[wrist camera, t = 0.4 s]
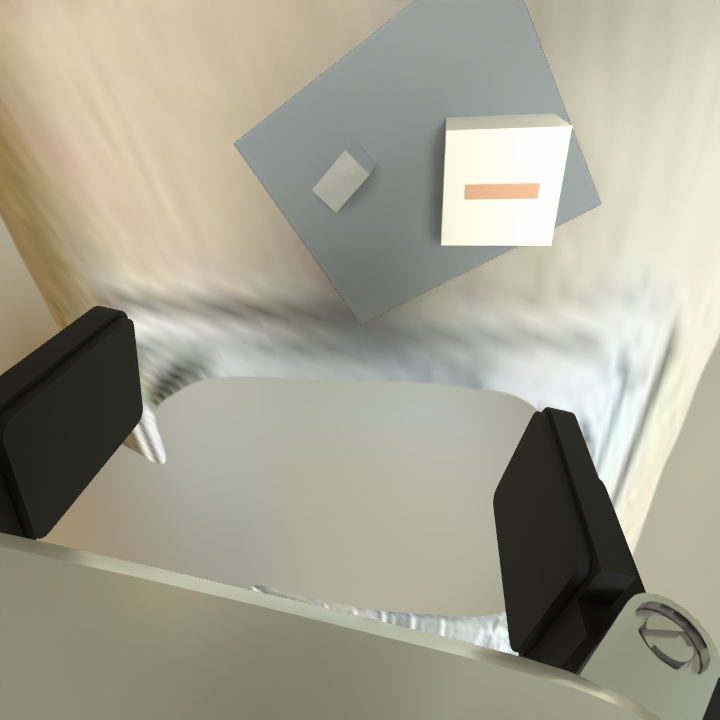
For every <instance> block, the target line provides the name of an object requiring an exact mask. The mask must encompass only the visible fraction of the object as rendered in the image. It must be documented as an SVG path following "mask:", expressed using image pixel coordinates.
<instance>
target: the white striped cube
mask: <svg viewBox="0 0 720 720" xmlns="http://www.w3.org/2000/svg"><path fill="white" fill-rule="evenodd" d="M571 130H572V126H571V125H570V124H568V123H567V122H566V121H564V120H563V119H561V118H560V117H559V116H557V115H556V114H554V113H546V114H520V115H495V116H469V117H446V129H445V153H444V176H443V200H442V230H441V246H551V243H552V237H553V232H554V226H555V220H556V215H557V209H558V203H559V198H560V192H561V187H562V181H563V175H564V170H565V164H566V158H567V153H568V147H569V141H570V136H571Z"/></svg>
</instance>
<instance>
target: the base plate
mask: <svg viewBox="0 0 720 720" xmlns="http://www.w3.org/2000/svg"><path fill="white" fill-rule="evenodd" d="M546 113H554V114H556V115H557V116H559V117H560V118H561V119H563V120H564V121H566V122H567V123H568V124H570V125H571V123H570V120H569V118H568V115H567V112H566V110H565V107H564V104H563V102H562V99H561V97H560V94H559V91H558V89H557V86H556V84H555V81H554V78H553V76H552V73H551V71H550V68H549V65H548V63H547V60H546V57H545V55H544V52H543V50H542V47H541V44H540V42H539V39H538V37H537V34H536V31H535V29H534V26H533V24H532V21H531V18H530V16H529V13H528V10H527V8H526V5H525V3H524V0H415V1H414V2H413V3H411V4H410V5H409V6H408V7H406V8H405V9H404V10H402V11H401V12H400V13H399V14H397V15H396V16H395V17H394V18H392V19H391V20H390V21H389V22H387V23H386V24H385V25H383V26H382V27H381V28H380V29H378V30H377V31H376V32H375V33H373V34H372V35H371V36H370V37H368V38H367V39H366V40H364V41H363V42H362V43H361V44H359V45H358V46H357V47H356V48H354V49H353V50H352V51H351V52H349V53H348V54H347V55H345V56H344V57H343V58H342V59H340V60H339V61H338V62H337V63H335V64H334V65H333V66H331V67H330V68H329V69H328V70H326V71H325V72H324V73H323V74H321V75H320V76H319V77H318V78H316V79H315V80H314V81H312V82H311V83H310V84H309V85H307V86H306V87H305V88H304V89H302V90H301V91H300V92H299V93H297V94H296V95H295V96H293V97H292V98H291V99H290V100H288V101H287V102H286V103H285V104H283V105H282V106H281V107H280V108H278V109H277V110H276V111H274V112H273V113H272V114H271V115H269V116H268V117H267V118H266V119H264V120H263V121H262V122H260V123H259V124H258V125H257V126H255V127H254V128H253V129H252V130H250V131H249V132H248V133H247V134H245V135H244V136H243V137H241V138H240V139H239V140H238V141H236V142H235V143H234V145H235V146H236V148H237V149H238V151H239V152H240V154H241V155H242V156H243V158H244V159H245V161H246V162H247V164H248V165H249V166H250V168H251V169H252V171H253V172H254V173H255V175H256V176H257V178H258V179H259V181H260V182H261V183H262V185H263V186H264V188H265V189H266V191H267V192H268V193H269V195H270V196H271V198H272V199H273V200H274V202H275V203H276V205H277V206H278V208H279V209H280V210H281V212H282V213H283V215H284V216H285V218H286V219H287V220H288V222H289V223H290V225H291V226H292V227H293V229H294V230H295V232H296V233H297V235H298V236H299V237H300V239H301V240H302V242H303V243H304V245H305V246H306V247H307V249H308V250H309V252H310V253H311V254H312V256H313V257H314V259H315V260H316V262H317V263H318V264H319V266H320V267H321V269H322V270H323V271H324V273H325V274H326V276H327V277H328V279H329V280H330V281H331V283H332V284H333V286H334V287H335V289H336V290H337V291H338V293H339V294H340V296H341V297H342V298H343V300H344V301H345V303H346V304H347V306H348V307H349V308H350V310H351V311H352V313H353V314H354V316H355V317H356V318H357V320H358V321H359V323H360V324H362V323H364V322H366V321H368V320H370V319H372V318H374V317H376V316H378V315H380V314H382V313H384V312H386V311H388V310H390V309H392V308H394V307H396V306H398V305H400V304H402V303H404V302H406V301H408V300H410V299H412V298H414V297H416V296H418V295H420V294H422V293H424V292H426V291H428V290H430V289H432V288H434V287H436V286H438V285H440V284H442V283H444V282H446V281H448V280H450V279H452V278H454V277H456V276H459V275H461V274H463V273H465V272H467V271H469V270H471V269H473V268H475V267H477V266H479V265H481V264H483V263H485V262H487V261H489V260H491V259H493V258H495V257H497V256H499V255H501V254H503V253H505V252H507V251H509V250H511V249H513V248H515V247H517V246H441V230H442V200H443V176H444V153H445V129H446V117H469V116H495V115H520V114H546ZM571 126H572V125H571ZM354 139H356V140H357V141H358V142H359V143H360V144H361V145H362V146H363V147H364V148H365V149H366V150H367V151H368V152H369V153H370V154H371V155H372V156H373V157H374V158H375V159H376V160H377V162H376V164H375V166H374V168H373V170H372V172H371V174H370V175H369V176H368V177H367V178H366V180H365V181H364V182H363V183H362V184H361V185H360V186H359V187H358V189H357V190H356V191H355V192H354V193H353V194H352V195H351V196H350V198H349V199H348V200H347V201H346V202H345V203H344V204H343V205H342V207H341V208H340V209H339V210H338V211H337V212H335V211H333V210H332V209H331V208H330V207H329V206H328V205H327V204H326V203H325V202H324V201H323V200H322V199H321V198H320V197H318V196H317V195H316V194H315V193H314V192H313V191H312V189H313V188H314V187H315V186H316V184H317V183H318V182H319V181H320V180H321V178H322V177H323V176H324V175H325V174H326V172H327V171H328V170H329V169H330V168H331V166H332V165H333V164H334V163H335V161H336V160H337V159H338V158H339V157H340V155H341V154H342V153H343V152H344V151H345V149H346V148H347V147H348V146H349V145H350V144H351V142H352V141H353V140H354ZM599 205H601V201H600V198H599V196H598V193H597V191H596V188H595V185H594V183H593V180H592V178H591V175H590V172H589V170H588V167H587V165H586V162H585V159H584V157H583V154H582V151H581V149H580V146H579V144H578V141H577V138H576V136H575V133H574V131H573V128H572V130H571V136H570V141H569V147H568V153H567V158H566V164H565V170H564V175H563V181H562V187H561V192H560V198H559V203H558V209H557V215H556V220H555V226H554V228H555V227H557V226H559V225H561V224H563V223H565V222H567V221H569V220H571V219H573V218H575V217H577V216H579V215H581V214H583V213H585V212H587V211H589V210H591V209H593V208H595V207H597V206H599Z"/></svg>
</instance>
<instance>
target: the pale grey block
mask: <svg viewBox="0 0 720 720" xmlns="http://www.w3.org/2000/svg"><path fill="white" fill-rule="evenodd" d="M376 162H377V160H376V159H375V158H374V157H373V156H372V155H371V154H370V153H369V152H368V151H367V150H366V149H365V148H364V147H363V146H362V145H361V144H360V143H359V142H358V141H357V140H356V139H354V140H353V141H352V142H351V144H350V145H349V146H348V147H347V148H346V149H345V151H344V152H343V153H342V154H341V155H340V157H339V158H338V159H337V160H336V161H335V163H334V164H333V165H332V166H331V168H330V169H329V170H328V171H327V172H326V174H325V175H324V176H323V177H322V178H321V180H320V181H319V182H318V183H317V184H316V186H315V187H314V188H313V189H312V191H313V192H314V193H315V194H316V195H317V196H318V197H320V198H321V199H322V200H323V201H324V202H325V203H326V204H327V205H328V206H329V207H330V208H331V209H332V210H333V211H335V212H337V211H338V210H339V209H340V208H341V207H342V205H343V204H344V203H345V202H346V201H347V200H348V199H349V198H350V196H351V195H352V194H353V193H354V192H355V191H356V190H357V189H358V187H359V186H360V185H361V184H362V183H363V182H364V181H365V180H366V178H367V177H368V176H369V175H370V174H371V172H372V170H373V168H374V166H375V164H376Z"/></svg>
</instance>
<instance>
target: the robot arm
mask: <svg viewBox="0 0 720 720" xmlns="http://www.w3.org/2000/svg"><path fill="white" fill-rule="evenodd" d="M142 412H143V405H142V396H141V387H140V377H139V368H138V359H137V349H136V340H135V331H134V324H133V321H132V320H131V319H128V317H127V315H126V313H125V312H123V311H120V310H116V309H111V308H107V307H103V306H95V307H93V308H92V309H91V310H89V311H88V312H86V313H85V314H84V315H82V316H81V317H80V318H78V319H77V320H76V321H74V322H73V323H71V324H70V325H69V326H67V327H66V328H65V329H63V330H62V331H61V332H59V333H58V334H57V335H55V336H54V337H52V338H51V339H50V340H48V341H47V342H46V343H44V344H43V345H42V346H40V347H39V348H37V349H36V350H35V351H33V352H32V353H31V354H29V355H28V356H27V357H25V358H24V359H23V360H22V361H20V362H19V363H17V364H16V365H14V366H13V367H12V368H10V369H9V370H8V371H6V372H5V373H3V374H2V375H1V376H0V720H720V677H719V675H720V658H719V654H718V651H717V648H716V646H715V644H714V643H713V641H712V639H711V637H710V635H709V634H708V633H707V631H706V630H705V629H704V628H703V626H702V625H701V624H700V623H699V621H698V620H697V619H695V618H694V617H693V616H692V615H691V614H690V613H689V612H688V611H687V610H685V609H684V608H683V607H681V606H680V605H678V604H677V603H675V602H673V601H672V600H670V599H667V598H665V597H663V596H660V595H657V594H651V593H646V591H645V589H644V586H643V584H642V581H641V579H640V576H639V573H638V570H637V568H636V565H635V563H634V560H633V557H632V555H631V552H630V550H629V547H628V544H627V542H626V539H625V537H624V534H623V531H622V529H621V526H620V524H619V521H618V518H617V516H616V513H615V510H614V508H613V505H612V503H611V500H610V497H609V495H608V492H607V490H606V487H605V485H604V484H603V482H602V481H601V480H600V479H599V477H598V475H597V472H596V469H595V467H594V464H593V461H592V459H591V456H590V453H589V451H588V448H587V445H586V443H585V440H584V437H583V435H582V432H581V429H580V427H579V424H578V421H577V419H576V416H575V415H574V413H572V412H568V411H563V410H559V409H554V408H550V407H547V408H545V409H544V410H543V411H542V412H538V411H537V412H535V413H534V414H533V416H532V418H531V420H530V422H529V424H528V426H527V428H526V430H525V432H524V434H523V436H522V438H521V440H520V442H519V444H518V446H517V448H516V450H515V452H514V454H513V456H512V458H511V460H510V462H509V464H508V466H507V468H506V470H505V472H504V474H503V476H502V478H501V480H500V482H499V484H498V486H497V488H496V491H495V494H494V500H493V507H494V515H495V524H496V532H497V540H498V549H499V557H500V566H501V574H502V582H503V591H504V599H505V607H506V616H507V624H508V633H509V641H510V646H511V649H512V650H513V651H515V652H518V653H519V656H516V655H512V654H508V653H504V652H500V651H496V650H493V649H489V648H485V647H481V646H477V645H473V644H470V643H466V642H462V641H458V640H454V639H450V638H447V637H443V636H439V635H434V634H430V633H426V632H422V631H418V630H414V629H410V628H406V627H401V626H397V625H393V624H389V623H385V622H381V621H377V620H373V619H369V618H364V617H360V616H356V615H352V614H348V613H344V612H340V611H336V610H331V609H327V608H323V607H319V606H315V605H311V604H306V603H302V602H298V601H294V600H290V599H285V598H281V597H277V596H273V595H269V594H264V593H260V592H256V591H252V590H248V589H243V588H239V587H235V586H231V585H227V584H222V583H217V582H214V581H209V580H205V579H201V578H197V577H193V576H188V575H184V574H180V573H176V572H171V571H167V570H163V569H158V568H154V567H150V566H145V565H141V564H137V563H133V562H128V561H124V560H120V559H115V558H111V557H107V556H102V555H98V554H94V553H90V552H85V551H81V550H77V549H72V548H68V547H64V546H59V545H55V544H51V543H46V542H42V541H37V540H36V539H37V538H38V539H41V538H43V537H45V536H46V535H47V534H48V533H49V532H50V531H51V530H52V528H53V527H54V526H55V525H56V524H57V522H58V521H59V520H60V519H61V517H62V516H63V515H64V514H65V513H66V511H67V510H68V509H69V508H70V506H71V505H72V504H73V503H74V501H75V500H76V499H77V498H78V497H79V495H80V494H81V493H82V492H83V490H84V489H85V488H86V487H87V486H88V484H89V483H90V482H91V481H92V479H93V478H94V477H95V476H96V474H97V473H98V472H99V471H100V470H101V468H102V467H103V466H104V465H105V463H106V462H107V461H108V460H109V458H110V457H111V456H112V455H113V453H114V452H115V451H116V450H117V449H118V447H119V446H120V445H121V444H122V443H123V441H124V440H125V439H126V438H127V436H128V435H129V434H130V433H131V431H132V430H133V429H134V428H135V427H136V425H137V424H138V423H139V421H140V419H141V416H142Z"/></svg>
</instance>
